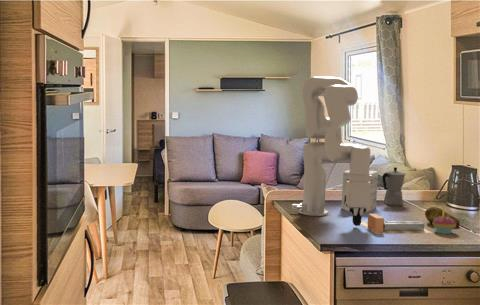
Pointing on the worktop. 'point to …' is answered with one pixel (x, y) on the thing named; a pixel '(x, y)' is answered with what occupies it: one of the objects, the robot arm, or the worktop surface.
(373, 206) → the supplement box
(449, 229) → the cupcake
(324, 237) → the worktop surface
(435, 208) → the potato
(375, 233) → the board
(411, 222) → the jaw
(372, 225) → the lock collar
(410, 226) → the fixed jaw
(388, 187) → the coffeepot
